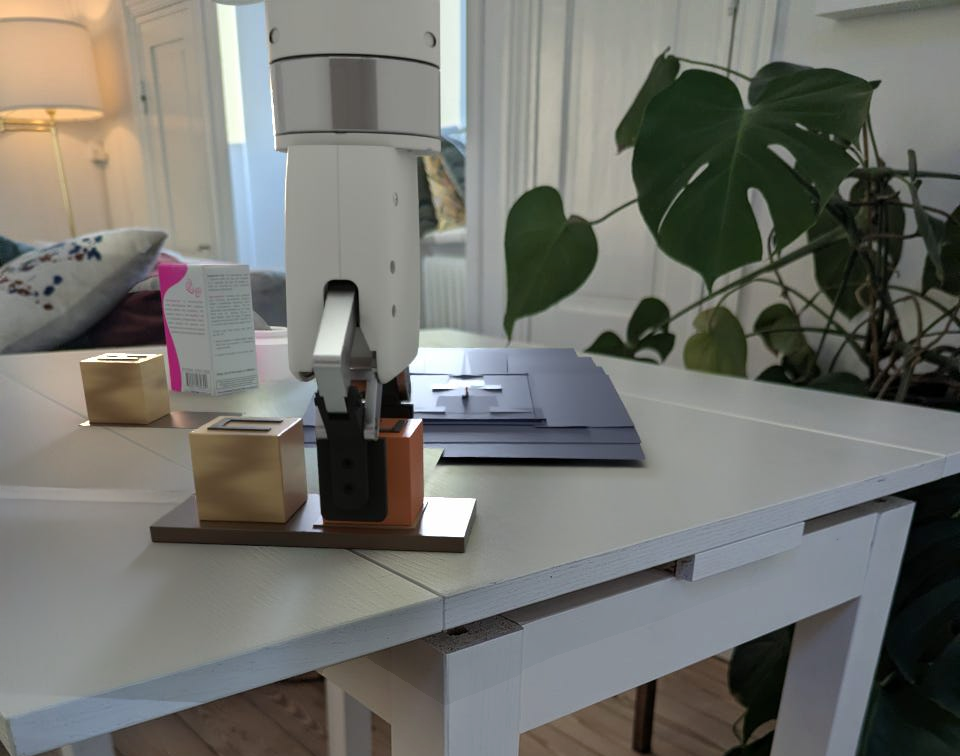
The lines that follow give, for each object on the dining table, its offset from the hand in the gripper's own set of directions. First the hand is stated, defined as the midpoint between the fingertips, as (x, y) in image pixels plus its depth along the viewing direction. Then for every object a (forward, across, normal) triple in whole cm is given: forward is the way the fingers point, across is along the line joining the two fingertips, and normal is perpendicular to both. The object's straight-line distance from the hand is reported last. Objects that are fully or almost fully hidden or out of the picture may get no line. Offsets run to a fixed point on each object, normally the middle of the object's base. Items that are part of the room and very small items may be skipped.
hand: (371, 494), depth 49 cm
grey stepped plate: (+2, -29, +2) cm, 29 cm away
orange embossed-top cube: (+1, 0, 0) cm, 1 cm away
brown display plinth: (+2, 0, -3) cm, 3 cm away
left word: (+2, -24, -21) cm, 31 cm away
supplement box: (+2, -38, -22) cm, 44 cm away
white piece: (+2, -47, -24) cm, 53 cm away
